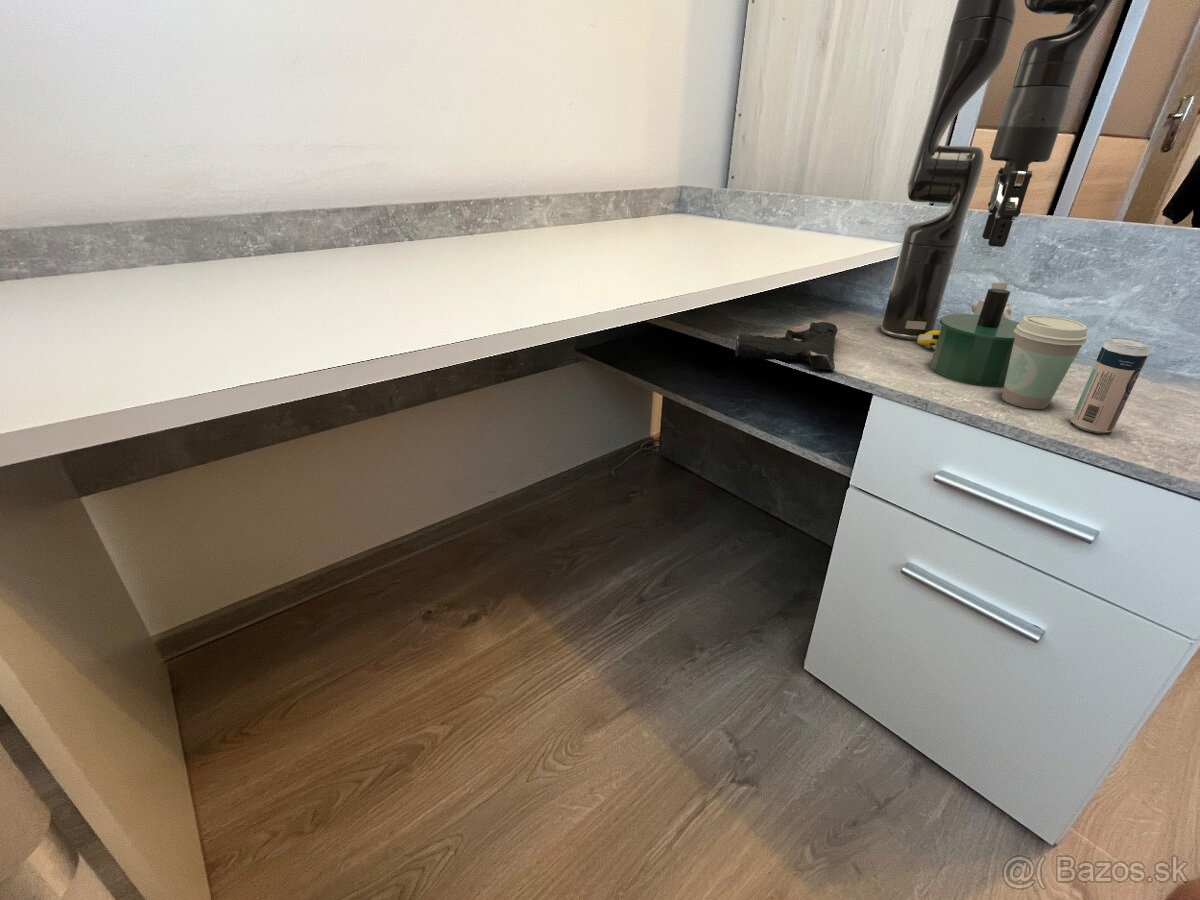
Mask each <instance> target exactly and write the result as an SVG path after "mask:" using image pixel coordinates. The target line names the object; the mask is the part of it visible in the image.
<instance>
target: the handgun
mask: <svg viewBox="0 0 1200 900" xmlns="http://www.w3.org/2000/svg"><path fill="white" fill-rule="evenodd" d="M837 334H838V328H837V325H836V324H835V323H831V322H828V321H818V322H810V324H809V328H808V329H806V330H800V331H793V330H792V329H787V330H786V332H785V335H784V336H778V335H761V334H758V335H757V334H756V335H752V334H743V333H737V334H736V337H735V349H734V355H735V357H736V358H739V359H743V360H758V361H759V360H761V361H766V360H767V361H768V360H769V361H770V360H771V361H772V360H773V361H774V360H801V361H806V362H808V363H809V364H810V367H812V368H813V369H814V368H815V369H819V370H835V369H836V365H835V362H834V360H835V359H834V357H835V356H834V355H835V339H836V336H837Z"/></svg>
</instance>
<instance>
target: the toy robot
mask: <svg viewBox="0 0 1200 900" xmlns="http://www.w3.org/2000/svg"><path fill="white" fill-rule="evenodd" d="M1009 284H1010V282H992V283H991V288H990V289H1003V290H1007V289H1008V286H1009ZM984 301H985V298H984V299H983V298H982V299H978V300H976V301H975V302H973V303H972V304H971V307H970V309H971V312H972V314H974V315H980V314H981V310H982V307H983V304H984ZM1011 304H1012V303H1010V302H1007V304H1006V307H1005V310H1004V312H1003V315H1002V318H1003V319H1008V320H1011V318H1013V315H1014V311H1013V308H1012V307H1011Z"/></svg>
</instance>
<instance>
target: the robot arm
mask: <svg viewBox="0 0 1200 900" xmlns="http://www.w3.org/2000/svg"><path fill="white" fill-rule="evenodd" d="M1023 2H1024V5H1025V7H1026V8H1027V10H1029V12H1031V13H1033V14H1035V15H1045V16H1046V15H1047V16H1048V15H1049V16H1050V15H1051V16H1053V15H1055V16H1056V15H1063V16H1064V15H1065V16H1066V15H1068V16H1069V15H1072V16H1071V19H1070V20H1069V22H1068V24H1067V25H1066V26H1065V27H1064V29H1062V31H1061V32H1057V33H1054V34H1047V35H1044V36H1040V37H1036V38H1034V39H1031V40H1030V41H1029V42H1028V43H1027V44H1026V45H1025V46H1024V48H1023V50H1022V53H1021V56H1020V60H1019V64H1018V67H1017V70H1016V74H1015V77H1014V79H1013V84H1012V88H1011V89H1010V93H1009V95H1008V97H1007V100H1006V102H1005V104H1004V106H1003V107H1004V108H1003V110H1002V114H1001V117H1000V120H999V124H998V128H997V131H996V134H995V137H994V140H993V144H992V148H991V151H990V154H989V158H990V160H991V161H997V162H998V161H1000V162H1005V164H1004V167H1000V168H999V169H998V170H997V174H996V176H995V179H994V182H993V188H992V191H991V193H990V198H989V202H988V204H987V206H988V207H987V213H988V215H987V220H986V222H985V224H984V225H985V226H984V229H983V232H982V234H981V236H982V238H983V239H984V240H988V241H987V244H988V246H989V247H993V248H994V247H995V248H996V247H997V248H1003V247H1004V246H1006V244H1007V240H1008V238H1009V235H1010V231H1011V228H1012V226H1013V222H1014V221H1015V220H1016V219H1017V218H1018V217H1019V215H1020V214H1021V212H1022V211H1021V210H1022V206H1023V203H1024V200H1025V197H1026V194H1027V190H1028V188H1029V185H1030V181H1031V179H1032V178H1033V171H1032V170H1029V168H1030V167H1029V166H1030V164H1031V163H1046V162H1048V161H1049V160H1050V159H1051V155H1052V153H1053V150H1054V147H1055V143H1056V141H1057V138H1058V135H1059V133H1060V129H1061V126H1062V123H1063V120H1064V117H1065V114H1066V111H1067V108H1068V104H1069V98H1070V93H1071V90H1072V87H1073V83H1074V81H1075V77H1076V75H1077V71H1078V69H1079V65H1080V63H1081V60H1082V57H1083V54H1084V52H1085V50H1086V48H1087V46H1088V44H1089V42H1090V40H1091V38H1092V37H1093V35H1094V33H1095V32H1096V29H1097V28H1098V26H1099V24H1100V22H1101V21H1102V19H1103V17H1104V16H1105V14H1106V13H1107V11H1108V10H1109V8H1110V6H1111V5H1112V3H1113V2H1114V0H1024V1H1023ZM1016 15H1017V4H1016V0H957V3H956V6H955V9H954V13H953V16H952V20H951V23H950V27H949V31H948V35H947V39H946V42H945V46H944V50H943V55H942V59H941V63H940V68H939V73H938V77H937V80H936V81H937V82H936V86H935V89H934V94H933V98H932V101H931V105H930V108H929V112H928V115H927V119H926V122H925V125H924V127H923V132H922V134H921V138H920V140H919V144H918V147H917V150H916V153H915V157H914V160H913V163H912V167H911V170H910V173H909V178H908V181H907V191H906V192H907V193H906V194H907V198H908V199H909V201H911V202H915V203H930V204H942V205H949V207H948V209H947V210H946V211H944V212H943V213H941V214H939V215H937V216H935V217H933V218H930V219H927V220H922V221H918V222H914V223H912V224H909V225H908V226H907V227H906V229H905V231H904V234H903V239H902V243H901V247H900V251H899V256H898V260H897V264H896V268H895V270H894V271H895V272H894V276H893V280H892V284H891V288H890V292H889V296H888V299H887V304H886V308H885V312H884V315H883V320H882V324H881V325H880V331H881V332H882V333H883V334H885V335H888V336H890V337H893V338H897V339H902V340H903V339H904V340H909V341H911V340H912V341H918V336H919V335H920V334H923V332H924V331H927V332H929V331H934V330H935V327H936V322H937V319H938V317H939V312H940V310H941V306H942V302H943V300H944V295H945V292H946V288H947V285H948V282H949V279H950V274H951V271H952V267H953V264H954V260H955V257H956V253H957V250H958V247H959V246H958V245H959V244H960V239H961V235H962V232H963V228H964V225H965V220H966V218H967V215H968V211H969V208H970V205H971V202H972V199H973V196H974V194H975V191H976V188H977V185H978V183H979V179H980V176H981V173H982V170H983V165H984V160H985V159H984V158H985V155H984V150H983V149H982V148H981V147H980V146H979V147H978V146H966V145H965V146H962V145H957V146H956V145H940V143H941V140H942V138H943V136H944V134H945V132H946V130H947V129H948V127H949V126H950V124H951V123H952V122H953V120H954V119H955V117H956V116H957V115H958V114H959V112H960V111H961V110H962V109H963V107H964V106H965V105H966V104H967V103H968V102H969V101H970V100H971V99H972V97H973V96H975V94H976V93H977V92H978V91H980V89H982V87H983V86H985V84H986V83H987V82H988V81H989V80H990V78H992V76H993V75H994V73H995V72H997V70H998V68H999V67H1000V65H1001V64H1002V62H1003V61H1004V58H1005V56H1006V53H1007V49H1008V46H1009V42H1010V38H1011V35H1012V31H1013V28H1014V24H1015V21H1016ZM925 333H926V332H925Z"/></svg>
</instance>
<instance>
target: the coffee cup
mask: <svg viewBox="0 0 1200 900" xmlns="http://www.w3.org/2000/svg"><path fill="white" fill-rule="evenodd" d="M1014 332H1015V333H1016V335H1015V339H1014V344H1013V348H1012V353H1011V357H1010V362H1009V366H1008V371H1007V375H1006V380H1005V384H1004V386H1003V389H1002V394H1001V398H1002V400H1003V401H1004V402H1006V403H1008V404H1010V405H1012V406H1015V407H1020V408H1024V409H1029V410H1044V409H1046V408H1048V407H1049V405H1050V403H1051V401H1052V399H1053V398H1054V396H1055V395H1056V392H1057V390H1058V389H1059V387H1060V386H1061V383H1062V382H1063V380H1064V378H1065V377H1066V375H1067V373H1068V372H1069V370H1070V368H1071V366H1072V365H1073V363H1074V361H1075V359H1076V357H1077V355H1078V353H1079V352H1080V350H1081V348H1082V346H1083V345H1085V344H1086V343H1087V339H1088V335H1087V332H1088V326H1087V325H1085V324H1084V323H1081V322H1080V321H1076V320H1072V319H1068V318H1064V317H1059V316H1051V315H1041V314H1040V315H1039V314H1037V315H1035V314H1034V315H1031V314H1030V315H1025V316H1023V317H1022V319H1021V321H1019V324H1018V325H1017V326H1016V329H1015V330H1014Z"/></svg>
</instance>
